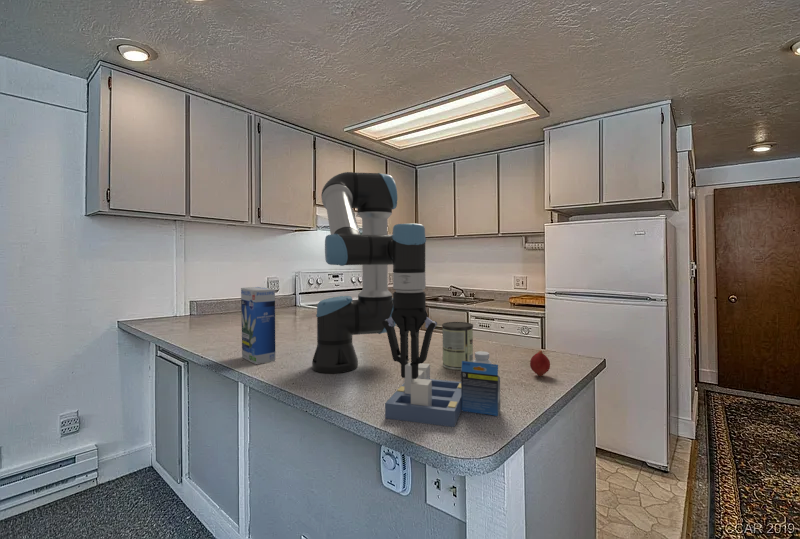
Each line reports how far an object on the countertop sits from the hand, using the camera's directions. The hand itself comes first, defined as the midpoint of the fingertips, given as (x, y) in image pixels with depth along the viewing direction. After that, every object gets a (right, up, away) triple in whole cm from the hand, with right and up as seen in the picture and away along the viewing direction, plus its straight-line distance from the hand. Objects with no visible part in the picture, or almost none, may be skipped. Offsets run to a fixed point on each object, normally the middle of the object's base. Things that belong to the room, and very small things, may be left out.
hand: (409, 391), depth 92 cm
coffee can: (+17, -4, +41) cm, 44 cm away
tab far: (+3, -3, +13) cm, 14 cm away
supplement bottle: (+21, -5, +20) cm, 29 cm away
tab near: (+3, -3, -1) cm, 4 cm away
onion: (+41, -4, +29) cm, 50 cm away
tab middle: (+1, -3, +7) cm, 8 cm away
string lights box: (-53, -4, +50) cm, 73 cm away
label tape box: (+17, -6, +2) cm, 18 cm away
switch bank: (+5, -5, +6) cm, 9 cm away
